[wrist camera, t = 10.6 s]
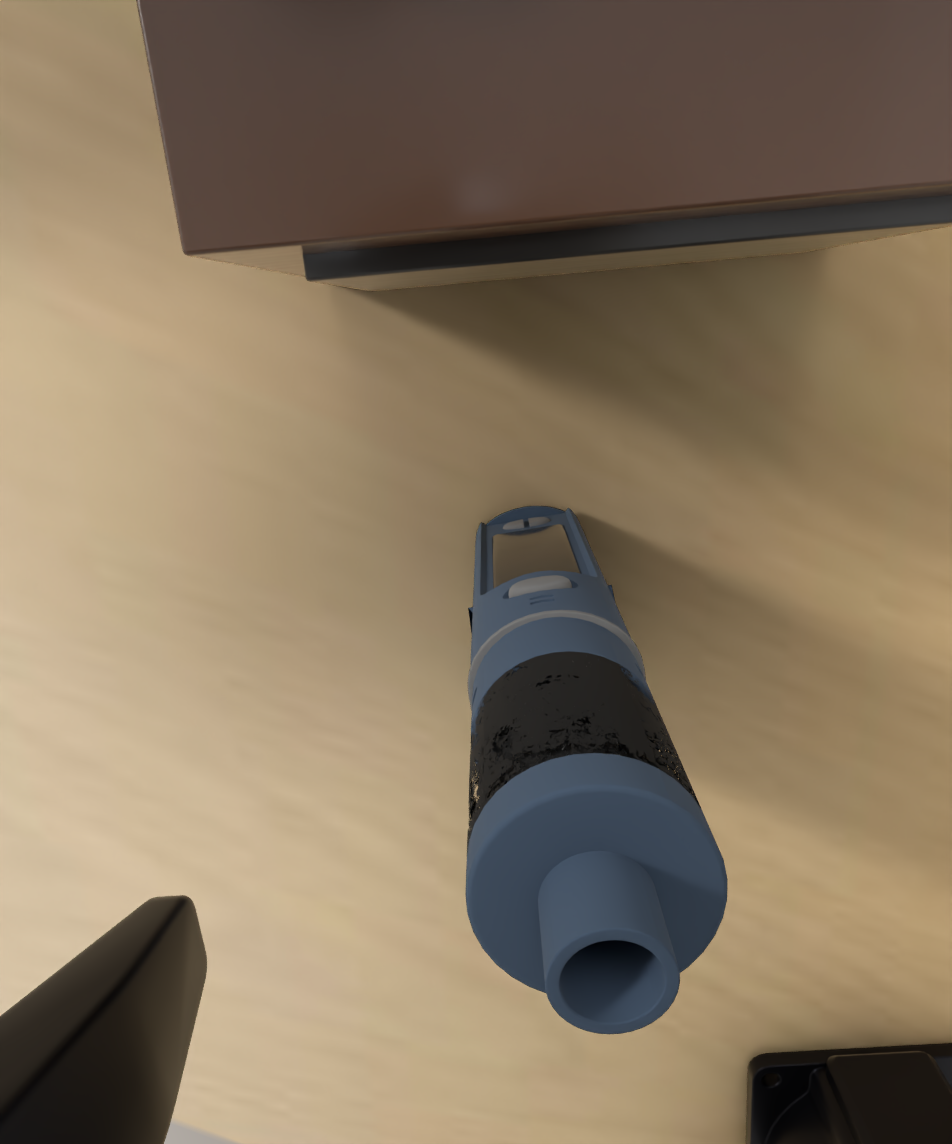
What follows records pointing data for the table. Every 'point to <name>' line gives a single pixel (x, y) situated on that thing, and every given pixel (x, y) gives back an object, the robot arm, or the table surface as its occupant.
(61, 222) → the table surface
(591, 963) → the vaping device
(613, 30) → the radio
